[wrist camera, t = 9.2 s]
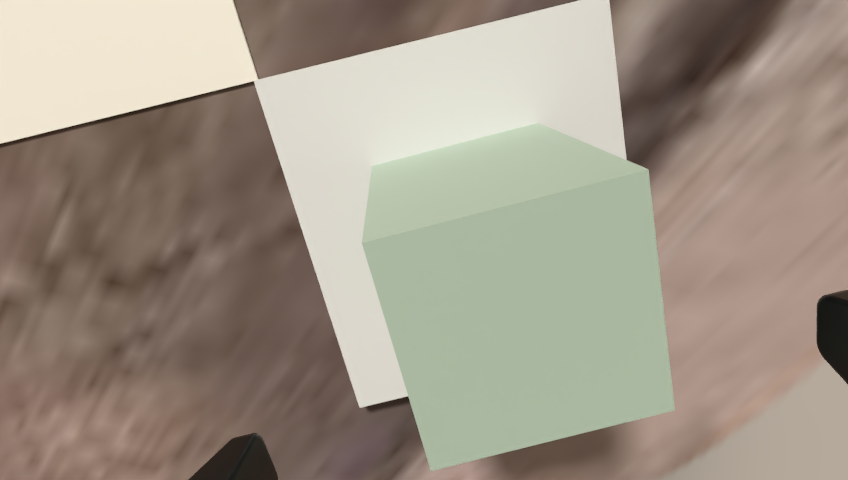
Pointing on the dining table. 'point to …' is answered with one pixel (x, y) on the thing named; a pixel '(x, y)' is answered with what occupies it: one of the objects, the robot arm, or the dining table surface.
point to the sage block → (519, 290)
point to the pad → (425, 138)
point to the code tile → (112, 58)
